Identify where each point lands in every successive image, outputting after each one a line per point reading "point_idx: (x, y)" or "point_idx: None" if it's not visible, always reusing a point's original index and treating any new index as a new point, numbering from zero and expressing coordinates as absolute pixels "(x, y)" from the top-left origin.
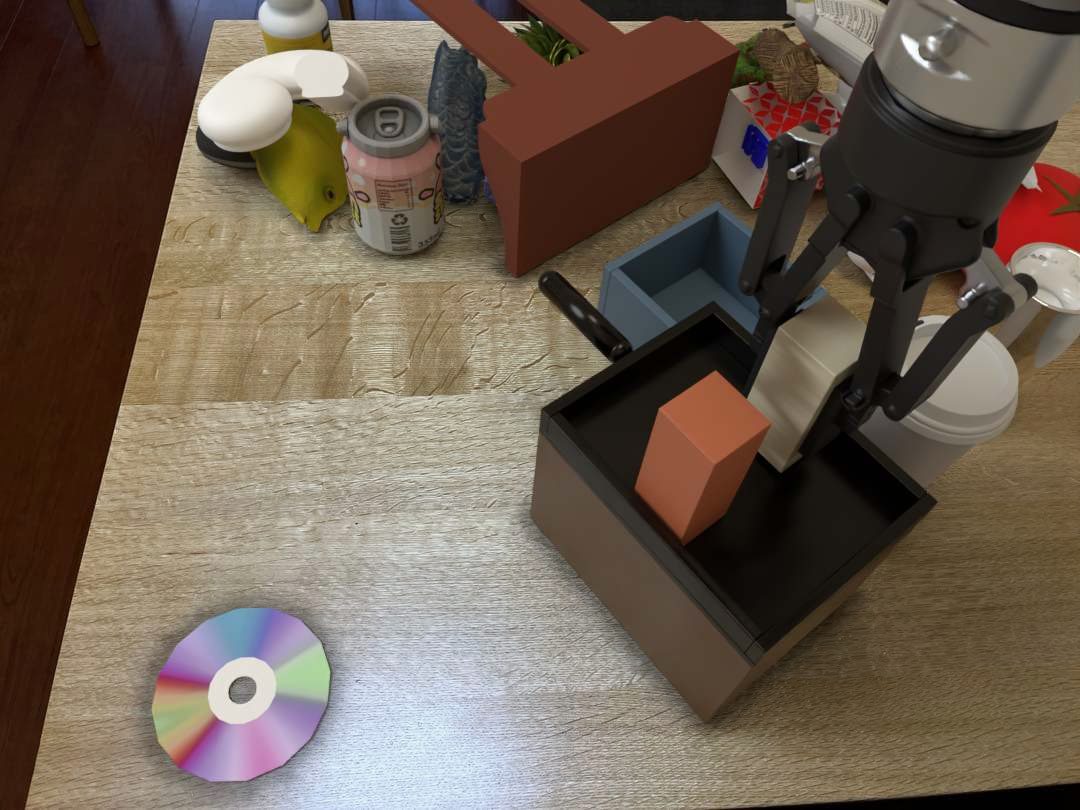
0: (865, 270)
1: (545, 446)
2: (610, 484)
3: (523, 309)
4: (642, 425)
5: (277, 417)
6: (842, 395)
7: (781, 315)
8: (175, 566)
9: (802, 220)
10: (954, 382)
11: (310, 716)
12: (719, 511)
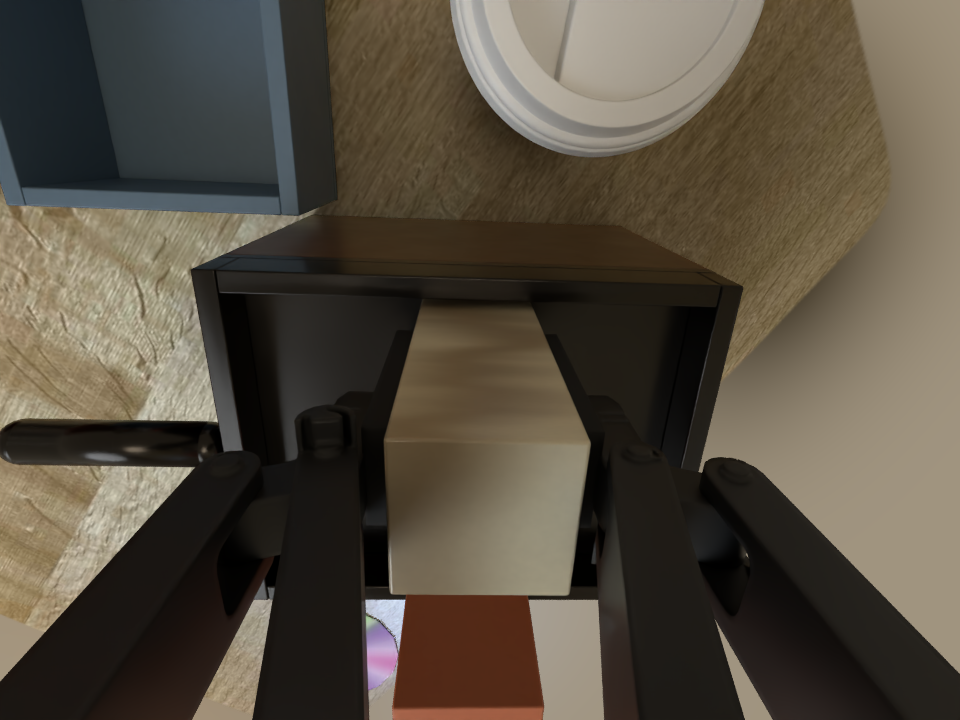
0: None
1: None
2: (397, 598)
3: (44, 253)
4: None
5: (94, 543)
6: (593, 561)
7: (363, 550)
8: None
9: (127, 662)
10: (649, 14)
11: (379, 633)
12: None
